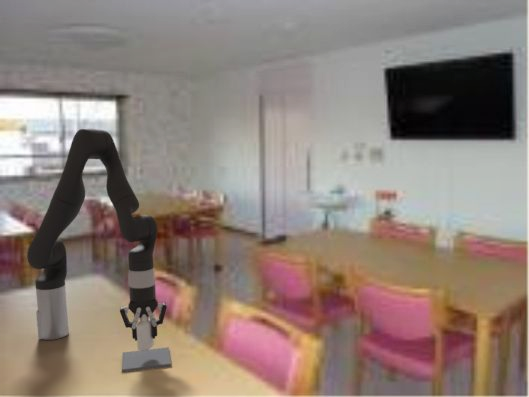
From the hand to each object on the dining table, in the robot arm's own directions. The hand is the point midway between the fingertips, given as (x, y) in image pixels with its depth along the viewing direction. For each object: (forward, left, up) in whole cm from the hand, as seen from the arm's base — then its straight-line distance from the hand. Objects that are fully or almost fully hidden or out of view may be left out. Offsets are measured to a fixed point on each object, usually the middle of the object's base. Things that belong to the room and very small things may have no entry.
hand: (145, 338), depth 159 cm
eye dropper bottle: (0, 0, -3) cm, 3 cm away
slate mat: (0, 0, -7) cm, 7 cm away
